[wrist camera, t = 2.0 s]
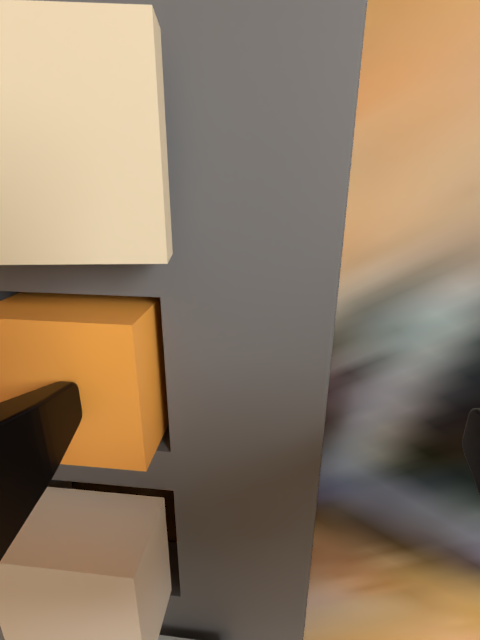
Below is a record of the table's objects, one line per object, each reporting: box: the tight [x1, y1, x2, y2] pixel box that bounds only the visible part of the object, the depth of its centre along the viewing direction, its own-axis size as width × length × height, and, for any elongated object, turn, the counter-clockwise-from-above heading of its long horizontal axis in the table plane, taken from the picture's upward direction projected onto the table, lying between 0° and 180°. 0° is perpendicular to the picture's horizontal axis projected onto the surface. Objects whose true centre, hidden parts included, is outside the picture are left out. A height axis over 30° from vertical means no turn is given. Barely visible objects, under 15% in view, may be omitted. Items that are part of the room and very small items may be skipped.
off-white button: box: [0, 487, 172, 640], centre depth 11 cm, size 4×4×2 cm
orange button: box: [0, 292, 169, 471], centre depth 10 cm, size 4×4×2 cm
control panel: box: [0, 0, 367, 640], centre depth 12 cm, size 13×24×3 cm, turn 179°
